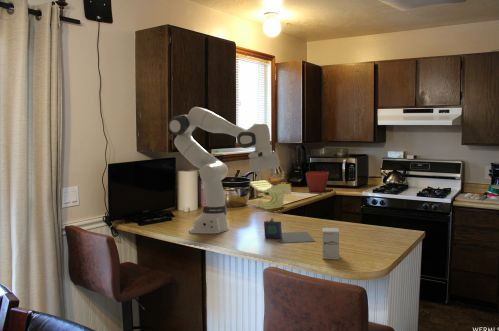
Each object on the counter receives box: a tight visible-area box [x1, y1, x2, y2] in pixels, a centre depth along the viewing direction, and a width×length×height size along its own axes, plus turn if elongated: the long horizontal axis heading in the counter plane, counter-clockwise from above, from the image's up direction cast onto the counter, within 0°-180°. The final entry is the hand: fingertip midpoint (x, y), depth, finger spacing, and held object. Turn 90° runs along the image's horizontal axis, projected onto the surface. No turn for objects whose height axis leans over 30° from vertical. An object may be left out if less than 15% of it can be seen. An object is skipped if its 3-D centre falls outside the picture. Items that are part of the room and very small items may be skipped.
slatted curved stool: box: [249, 179, 292, 210], centre depth 320 cm, size 30×16×18 cm, turn 31°
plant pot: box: [305, 171, 330, 193], centre depth 388 cm, size 19×19×17 cm
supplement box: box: [321, 227, 340, 260], centre depth 194 cm, size 7×7×13 cm
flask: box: [263, 217, 283, 240], centre depth 229 cm, size 9×3×11 cm, turn 74°
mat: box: [277, 231, 316, 244], centre depth 230 cm, size 18×20×1 cm
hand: (266, 177), depth 238 cm, fingers open, 8 cm apart
